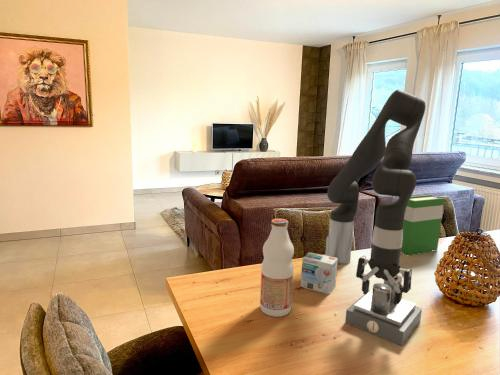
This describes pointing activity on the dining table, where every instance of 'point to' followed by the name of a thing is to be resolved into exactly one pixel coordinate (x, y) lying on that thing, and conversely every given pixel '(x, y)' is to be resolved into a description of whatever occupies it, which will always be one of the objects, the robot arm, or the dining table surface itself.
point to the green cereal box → (422, 224)
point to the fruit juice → (277, 271)
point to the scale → (384, 324)
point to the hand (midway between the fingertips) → (380, 298)
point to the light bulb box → (319, 272)
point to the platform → (395, 311)
